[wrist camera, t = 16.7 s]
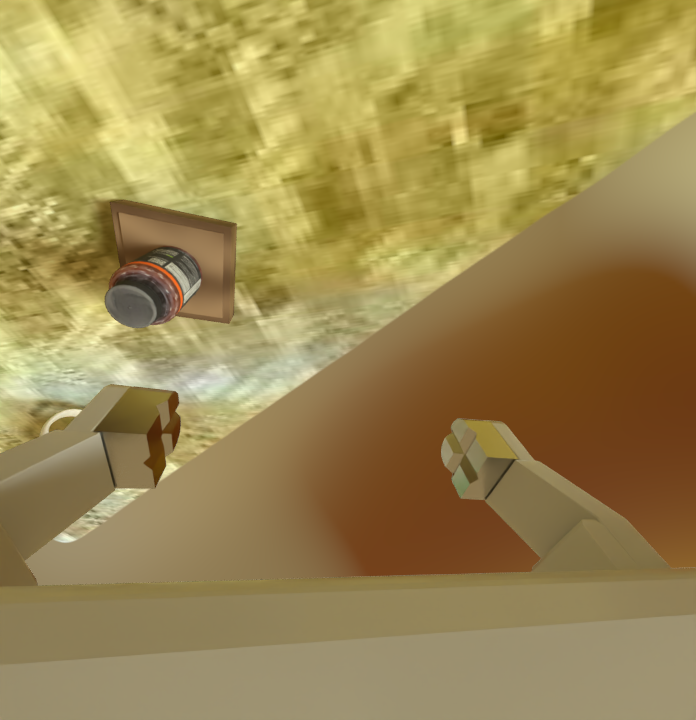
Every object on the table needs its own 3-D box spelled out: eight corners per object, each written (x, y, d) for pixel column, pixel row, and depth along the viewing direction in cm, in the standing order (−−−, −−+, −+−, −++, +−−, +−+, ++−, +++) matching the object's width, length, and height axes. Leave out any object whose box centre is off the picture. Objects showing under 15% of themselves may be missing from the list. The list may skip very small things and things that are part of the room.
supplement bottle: (163, 299, 37) (112, 343, 27) (139, 248, 34) (72, 279, 24) (212, 291, 37) (178, 333, 27) (192, 240, 34) (147, 267, 24)
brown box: (124, 199, 34) (108, 202, 31) (236, 223, 36) (230, 227, 33) (138, 300, 40) (125, 309, 37) (233, 314, 42) (228, 324, 39)
